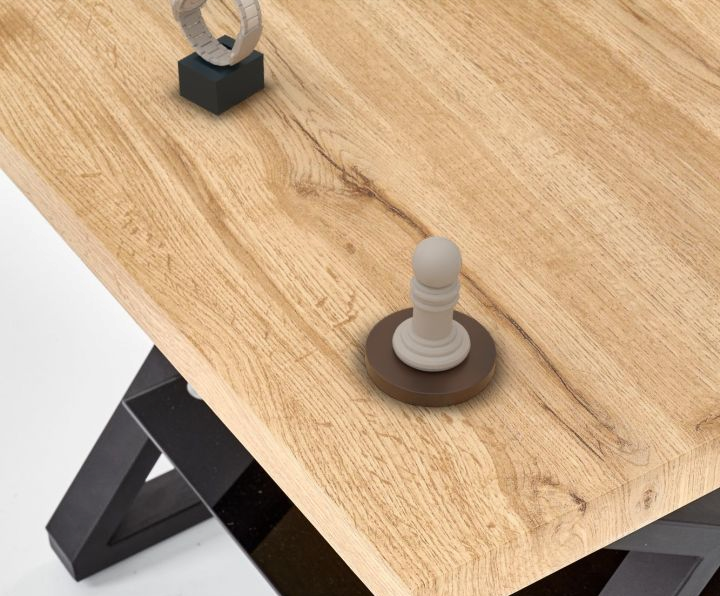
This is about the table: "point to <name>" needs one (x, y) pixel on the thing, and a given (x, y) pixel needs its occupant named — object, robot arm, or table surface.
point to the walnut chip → (429, 384)
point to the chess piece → (433, 309)
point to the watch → (219, 57)
